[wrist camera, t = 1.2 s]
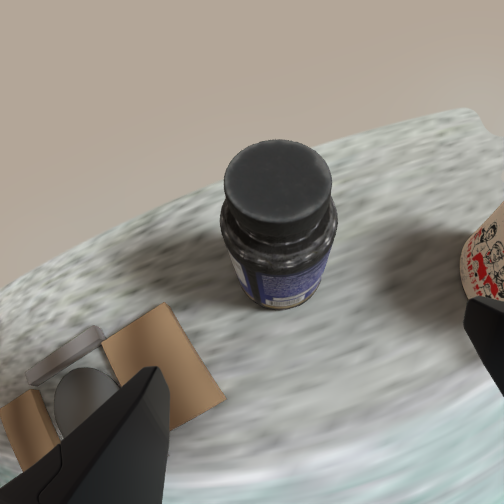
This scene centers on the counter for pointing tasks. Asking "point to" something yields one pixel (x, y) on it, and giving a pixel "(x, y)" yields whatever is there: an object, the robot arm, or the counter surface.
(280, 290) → the pill bottle
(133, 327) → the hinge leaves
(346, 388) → the counter surface
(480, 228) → the teacup with lid
